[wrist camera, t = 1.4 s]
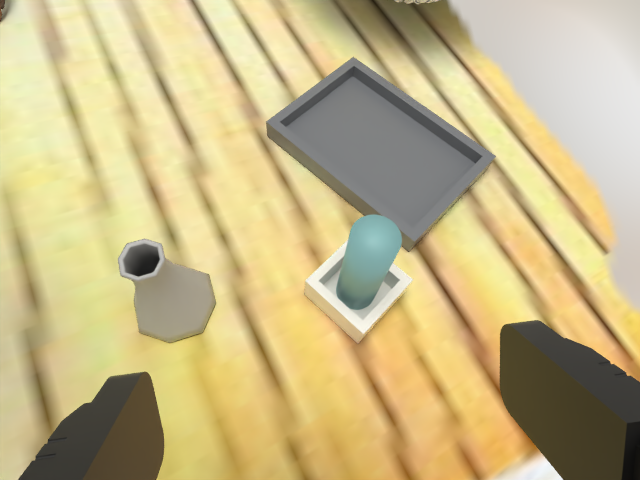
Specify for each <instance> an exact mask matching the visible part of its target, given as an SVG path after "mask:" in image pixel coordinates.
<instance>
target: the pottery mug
mask: <svg viewBox="0 0 640 480" xmlns="http://www.w3.org/2000/svg"><path fill="white" fill-rule="evenodd" d="M4 4H5V0H0V21H1V16H2V12H1V9H3V8H4Z"/></svg>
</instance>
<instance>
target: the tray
mask: <svg viewBox="0 0 640 480" xmlns="http://www.w3.org/2000/svg"><path fill="white" fill-rule="evenodd" d="M266 125H267V136H268V137H269V138H270V139H272V140H273V141H274V142H275V143H277V144H278V145H279V146H280V147H281V148H283V149H284V150H285V151H286V152H288V153H289V154H290V155H291V156H292V157H294V158H295V159H296V160H297V161H299V162H300V163H301V164H302V165H303V166H305V167H306V168H307V169H308V170H310V171H311V172H312V173H313V174H314V175H316V176H317V177H318V178H319V179H321V180H322V181H323V182H324V183H325V184H327V185H328V186H329V187H330V188H332V189H333V190H334V191H335V192H336V193H338V194H339V195H340V196H341V197H343V198H344V199H345V200H346V201H347V202H349V203H350V204H351V205H352V206H353V207H355V208H356V209H357V210H358V211H360V212H361V213H362V214H363V215H364V216H367V215H381V216H384V217H387V218H388V219H390V220H391V221H393V222H394V223H395V224H396V225H397V227H398V228H399V230H400V233H401V236H402V244H401V246H402V247H404V248H405V249H406V250H407V251H408V252H409V251H410V250H411V249H412V248H413V247H414V246H415V245H416V244H417V243H418V242H419V241H420V240H421V239H422V238H423V236H424V235H425V234H426V233H427V232H428V231H429V230H430V229H431V228H432V227H433V226H434V225H435V224H436V223H437V222H438V221H439V220H440V218H441V217H442V216H443V215H444V214H445V213H446V212H447V211H448V210H449V209H450V208H451V207H452V206H453V205H454V204H455V203H456V202H457V200H458V199H459V198H460V197H461V196H462V195H463V194H464V193H465V192H466V191H467V190H468V189H469V188H470V187H471V186H472V185H473V184H474V183H475V181H476V180H477V179H478V178H479V177H480V176H481V175H482V174H483V173H484V172H485V171H486V170H487V169H488V167H489V166H490V164H491V163H492V161H493V160H494V158H495V157H496V156H495V155H493V154H492V153H490V152H489V151H487V150H486V149H485V148H483V147H482V146H480V145H479V144H477V143H476V142H475V141H473V140H472V139H470V138H469V137H467V136H466V135H464V134H463V133H462V132H460V131H459V130H457V129H456V128H454V127H453V126H452V125H450V124H449V123H447V122H446V121H444V120H443V119H442V118H440V117H439V116H437V115H436V114H434V113H433V112H431V111H430V110H429V109H427V108H426V107H424V106H423V105H421V104H420V103H419V102H417V101H416V100H414V99H413V98H411V97H410V96H409V95H407V94H406V93H404V92H403V91H401V90H400V89H398V88H397V87H396V86H394V85H393V84H391V83H390V82H388V81H387V80H386V79H384V78H383V77H381V76H380V75H378V74H377V73H376V72H374V71H373V70H371V69H370V68H368V67H367V66H365V65H364V64H363V63H361V62H360V61H358V60H357V59H355V58H354V57H353V58H351V59H350V60H349V61H347V62H346V63H345V64H343V65H342V66H341V67H339V68H338V69H336V70H335V71H334V72H332V73H331V74H330V75H328V76H327V77H326V78H324V79H323V80H322V81H320V82H319V83H318V84H316V85H315V86H314V87H312V88H311V89H310V90H308V91H307V92H306V93H304V94H303V95H302V96H300V97H299V98H298V99H296V100H295V101H293V102H292V103H291V104H289V105H288V106H287V107H285V108H284V109H283V110H281V111H280V112H279V113H277V114H276V115H275V116H273V117H272V118H271V119H269V120H268V121H267V122H266Z"/></svg>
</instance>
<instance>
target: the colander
mask: <svg viewBox="0 0 640 480" xmlns="http://www.w3.org/2000/svg"><path fill="white" fill-rule="evenodd" d="M394 1H396V2H397V3H398V2H402V0H394ZM435 1H436V2H437V1H439V0H405V1H404V2H405V3H407V4H409V3H413V2H414V3H416V4H420V3H424V2H425V3H430V2H435Z"/></svg>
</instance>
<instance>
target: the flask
mask: <svg viewBox="0 0 640 480" xmlns="http://www.w3.org/2000/svg"><path fill="white" fill-rule="evenodd" d="M118 263H119V269H120V275H121V276H122V277H124V278H127V279H131V280H132V281H133V282H134V285H135V296H134V305H135V311H136V316H137V322H138V328H139V333H142V334H145V335H148V336H151V337H154V338H157V339H160V340H163V341H166V342H169V343H171V342H174V341H177V340H180V339H183V338H187V337H190V336H193V335H196V334H199V333H202V332H203V331H204V329H205V326H206V324H207V322H208V320H209V317H210V315H211V313H212V311H213V308H214V306H215V304H216V300H215V296H214V293H213V289H212V285H211V281H210V277H209V274H206V273H203V272H200V271H197V270H194V269H191V268H188V267H184V266H181V265H178V264H173V263H172V262H171V261H169V260H168V259H166V258H165V256H164V251H163V247H162V244H160V243H157V242H154V241H151V240H147V239H142V240H138V241H134V242H131V243H127V244H126V246H125V247H124V249H123V251H122V253H121V254H120V256H119V258H118Z"/></svg>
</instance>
